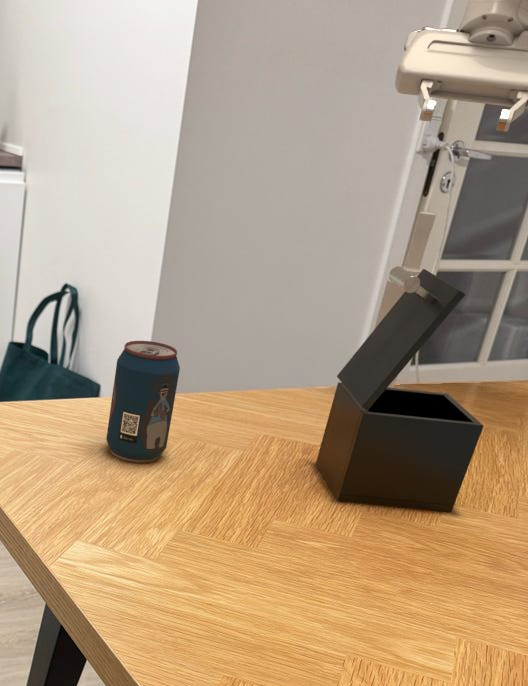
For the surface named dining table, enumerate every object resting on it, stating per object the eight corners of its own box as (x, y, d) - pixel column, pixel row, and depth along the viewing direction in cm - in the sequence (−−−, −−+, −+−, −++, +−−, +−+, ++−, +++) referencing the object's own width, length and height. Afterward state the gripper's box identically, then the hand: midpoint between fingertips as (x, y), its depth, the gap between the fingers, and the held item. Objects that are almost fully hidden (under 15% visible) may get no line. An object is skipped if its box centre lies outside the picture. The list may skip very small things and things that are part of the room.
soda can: (118, 437, 106) (132, 335, 100) (172, 451, 104) (191, 347, 98) (95, 454, 101) (109, 347, 94) (152, 469, 99) (170, 361, 92)
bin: (419, 474, 106) (447, 393, 100) (451, 512, 97) (484, 425, 91) (315, 464, 105) (337, 382, 100) (337, 501, 96) (363, 413, 91)
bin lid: (429, 272, 93) (396, 247, 92) (466, 294, 84) (430, 267, 83) (341, 380, 100) (310, 357, 98) (367, 411, 91) (333, 387, 90)
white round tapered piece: (369, 410, 125) (427, 216, 111) (345, 398, 129) (398, 209, 115) (397, 408, 127) (457, 217, 113) (372, 396, 131) (428, 210, 117)
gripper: (415, 4, 116) (384, 91, 113) (585, 20, 110) (556, 112, 107) (407, 47, 122) (377, 130, 119) (568, 64, 116) (540, 152, 113)
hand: (463, 122), depth 113 cm, fingers open, 8 cm apart
